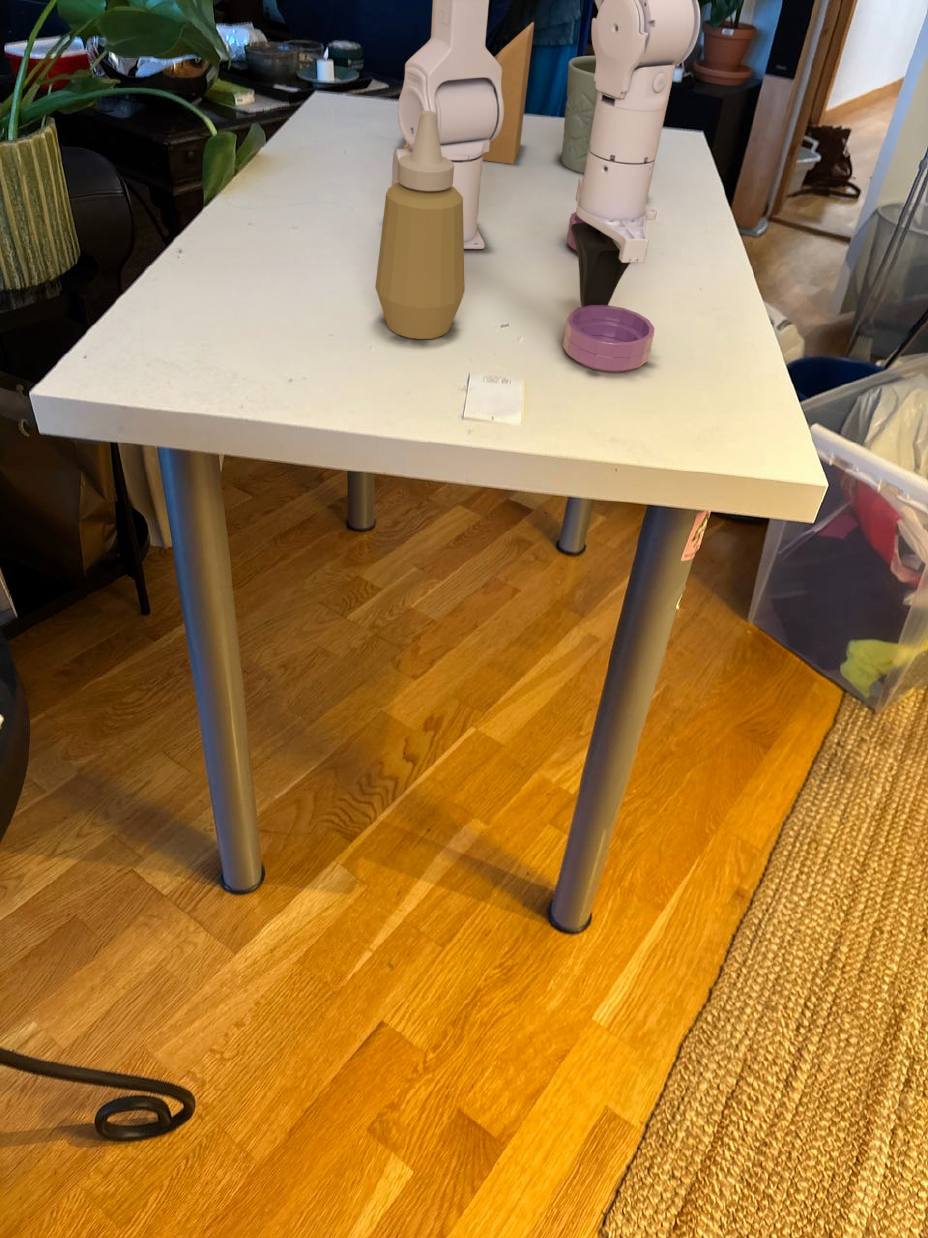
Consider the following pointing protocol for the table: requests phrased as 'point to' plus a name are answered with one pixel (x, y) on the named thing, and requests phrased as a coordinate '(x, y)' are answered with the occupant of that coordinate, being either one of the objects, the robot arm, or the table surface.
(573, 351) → the dish near
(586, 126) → the green vase
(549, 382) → the table surface
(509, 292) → the table surface
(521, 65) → the sandwich container
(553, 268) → the table surface
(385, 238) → the squeeze bottle
